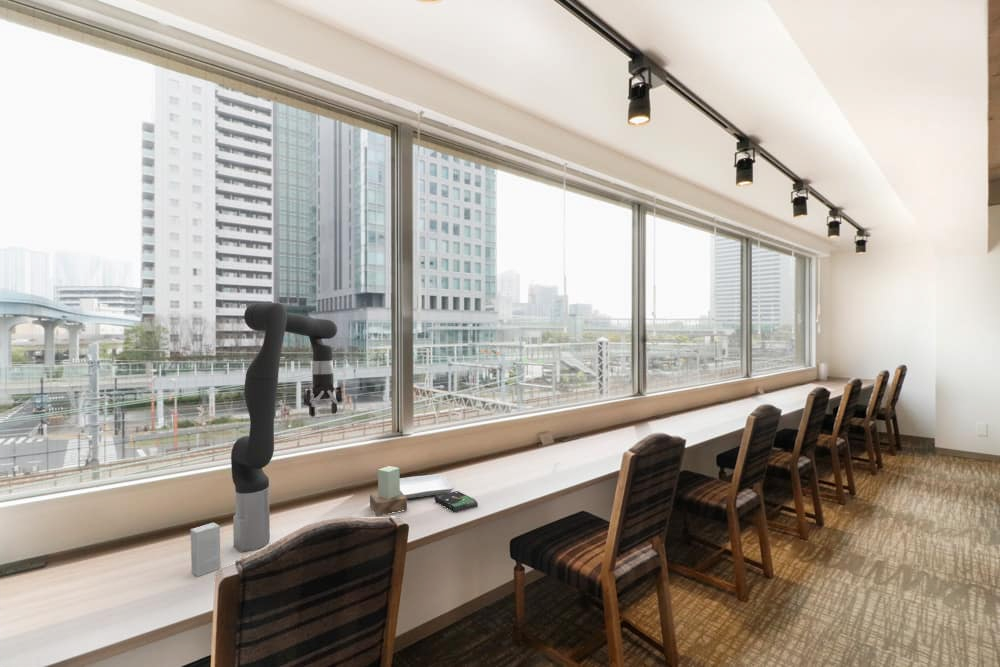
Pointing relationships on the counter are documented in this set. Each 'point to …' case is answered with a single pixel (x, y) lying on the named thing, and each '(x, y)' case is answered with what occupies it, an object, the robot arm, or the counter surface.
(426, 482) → the salad plate
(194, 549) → the skincare box
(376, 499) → the walnut block
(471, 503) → the disk drive
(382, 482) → the sage block
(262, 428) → the robot arm
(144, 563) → the counter surface
